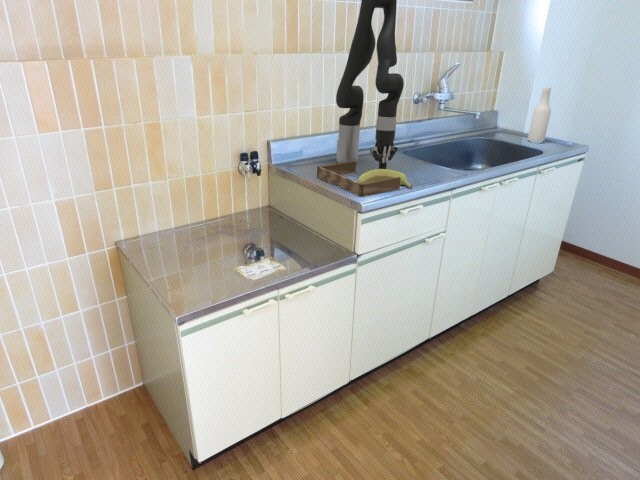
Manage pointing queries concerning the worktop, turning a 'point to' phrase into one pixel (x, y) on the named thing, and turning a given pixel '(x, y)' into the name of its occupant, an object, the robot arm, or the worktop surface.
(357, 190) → the box
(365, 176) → the banana
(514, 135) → the worktop surface
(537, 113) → the alcohol
